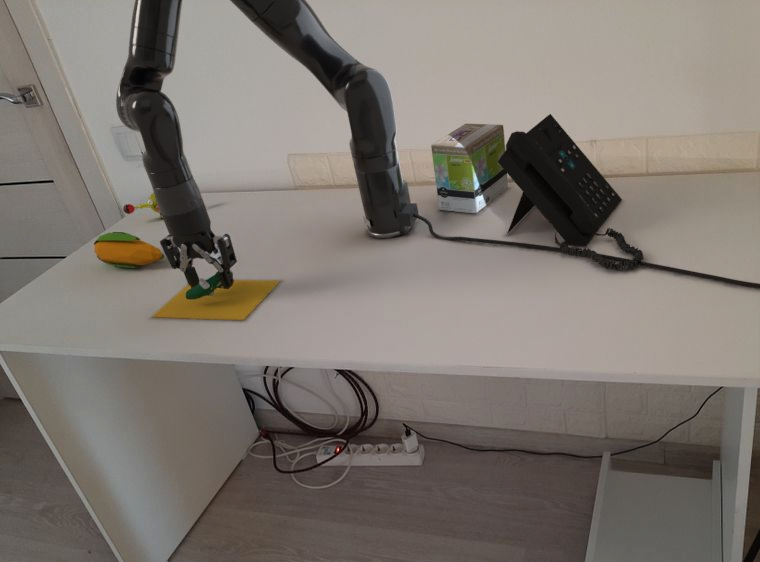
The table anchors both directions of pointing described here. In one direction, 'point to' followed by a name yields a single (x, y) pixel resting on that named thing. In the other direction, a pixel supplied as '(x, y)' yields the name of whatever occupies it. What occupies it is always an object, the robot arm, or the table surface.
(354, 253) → the table surface
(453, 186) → the tea box
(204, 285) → the gaming controller
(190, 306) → the cloth
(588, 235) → the office phone
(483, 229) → the table surface
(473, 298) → the table surface
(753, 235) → the table surface
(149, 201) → the toy figure
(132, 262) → the corn
